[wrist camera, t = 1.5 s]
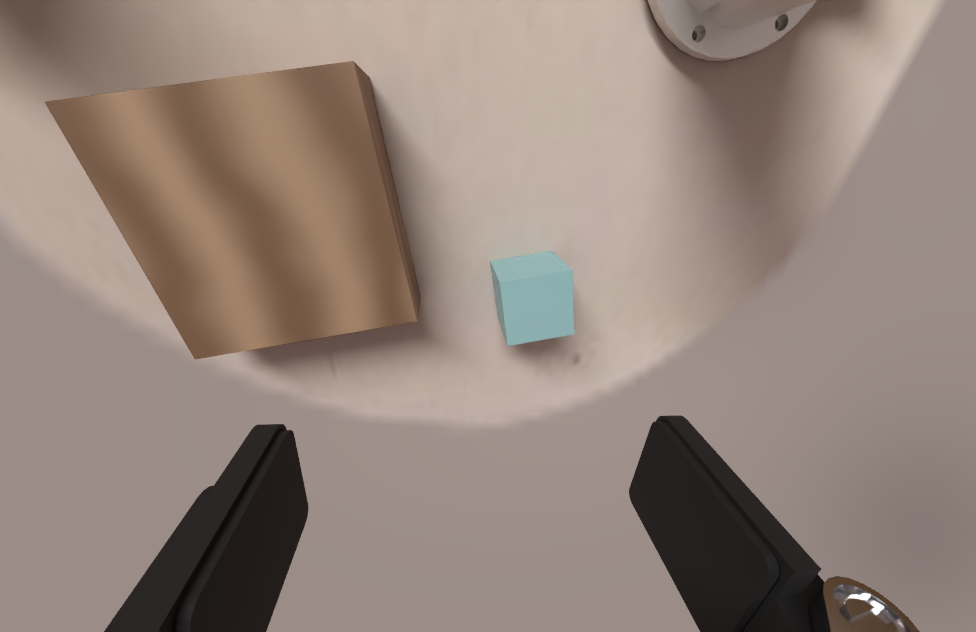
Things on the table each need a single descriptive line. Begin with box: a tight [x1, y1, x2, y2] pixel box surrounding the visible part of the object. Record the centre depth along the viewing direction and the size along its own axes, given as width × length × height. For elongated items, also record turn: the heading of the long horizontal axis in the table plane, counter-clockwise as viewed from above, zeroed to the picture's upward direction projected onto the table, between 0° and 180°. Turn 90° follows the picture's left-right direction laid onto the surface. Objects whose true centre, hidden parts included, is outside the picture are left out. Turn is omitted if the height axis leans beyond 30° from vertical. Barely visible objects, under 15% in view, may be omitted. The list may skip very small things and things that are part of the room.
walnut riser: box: [45, 61, 420, 359], centre depth 23 cm, size 15×15×4 cm
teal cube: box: [490, 251, 574, 346], centre depth 27 cm, size 5×5×5 cm
